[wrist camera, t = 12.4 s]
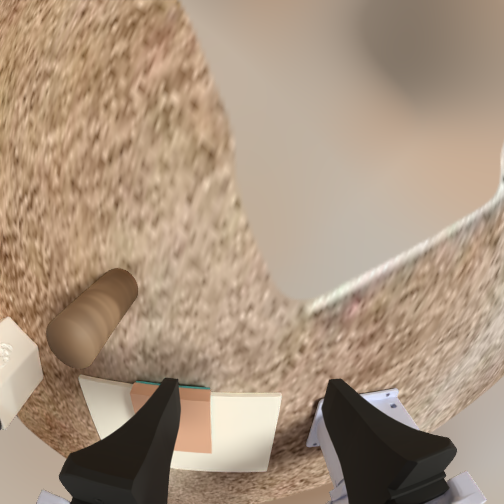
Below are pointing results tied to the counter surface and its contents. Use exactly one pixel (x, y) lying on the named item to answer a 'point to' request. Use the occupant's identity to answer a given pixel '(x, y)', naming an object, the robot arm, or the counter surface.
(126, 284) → the pestle
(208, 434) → the tile
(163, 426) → the robot arm
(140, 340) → the counter surface
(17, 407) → the jar
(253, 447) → the board
